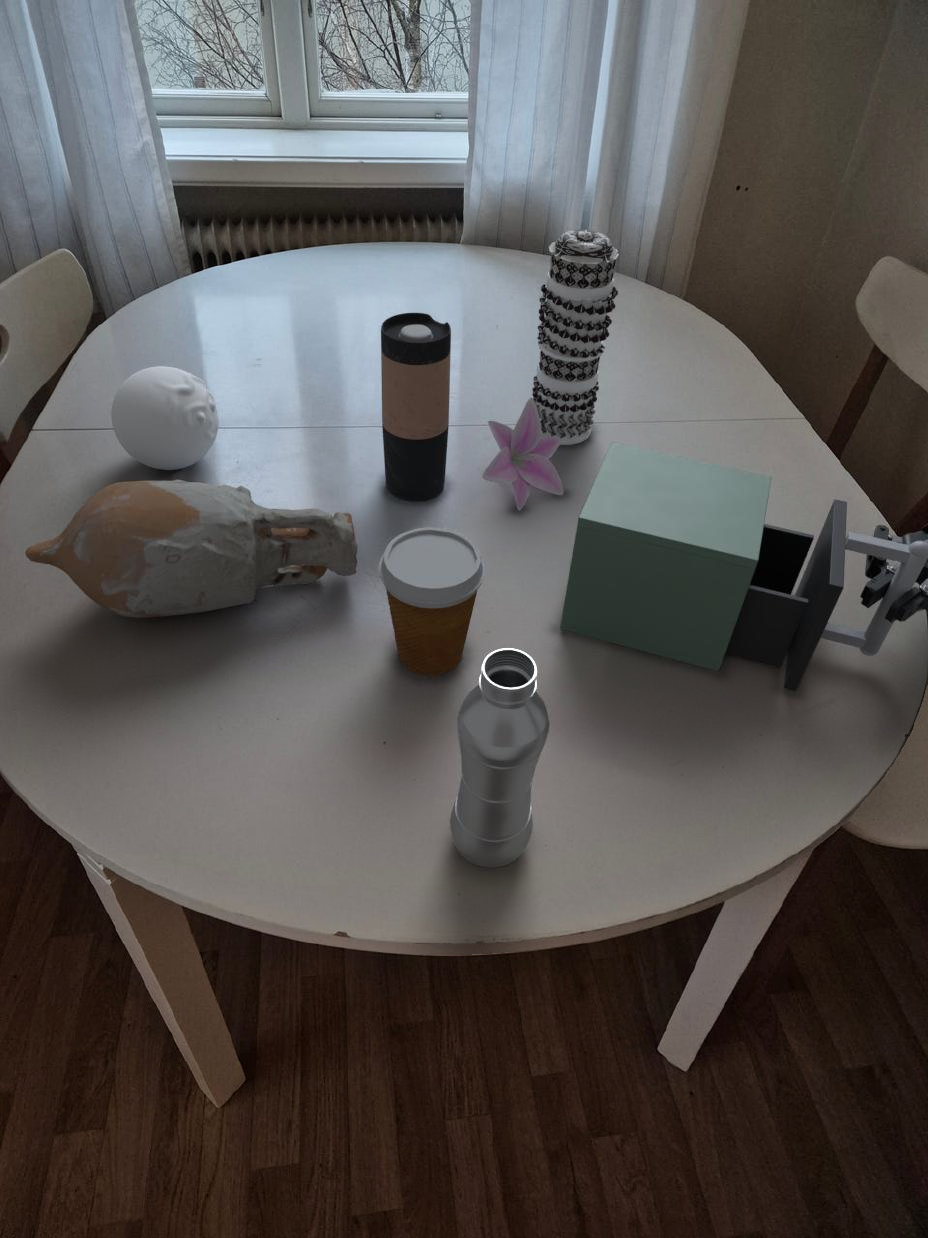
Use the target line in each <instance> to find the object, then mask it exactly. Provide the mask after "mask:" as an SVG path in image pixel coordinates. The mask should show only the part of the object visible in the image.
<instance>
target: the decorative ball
mask: <svg viewBox="0 0 928 1238" xmlns="http://www.w3.org/2000/svg"><path fill="white" fill-rule="evenodd" d="M110 417H111V418H110V419H111V424H112V425H111V426H112V428H113V432H114V434H115V437H116V438H117V441H118V442H119V444H120V446H121V447H122V448H123V449H124V451H125V452H126V453H127V454H128V455H129V456H131V458H133V459H134V460H136V461H137V462H139V463H141V464H142V465H145V466H147V467H149V468H153V469H157V470H163V471H174V470H180V469H185V468H187V467H190V466H192V465H194V464H196V463H197V462H199V461H200V460H201V459H203V458H204V457H205V456H206V455H207V454H208V452H209V451H210V450H211V449H212V447H213V445H214V443H215V441H216V438H217V435H218V430H219V424H220V423H219V421H220V420H219V414H218V409H217V405H216V402H215V399H214V396H213V395H212V393H211V392H210V391H209V390H208V387H207V385H206V383H205V382H204V380H203V379H201V378H200V377H198V376H195V375H194V374H193V373H190V372H189V371H186V370H183V369H181V368H179V367H178V368H177V367H173V366H166V365H165V366H164V365H159V366H150V367H146V368H143V369H140V370H138V371H136V372H134V373H133V374H131V375H129V376H128V377H127V378H126V379H125V380H124V381H123V382H122V383H121V385H120V386H119V387H118V389H117V390H116V393H115V395H114V397H113V399H112V404H111V413H110Z"/></svg>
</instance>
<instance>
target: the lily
mask: <svg viewBox="0 0 928 1238" xmlns="http://www.w3.org/2000/svg"><path fill="white" fill-rule="evenodd" d="M532 398H533V397H530V398H529V399H528V400H527V401H526V403H525V405H524V408H523V409H522V411H521V414H520V416H519V418H518V420H517V422H516V424H515V426H514V428H511V427H509V426H508V425H506V424H503V423H501V422H498V421H494V420H487V425H488V428H489V430H490V432H491V434H492V436H493V438H494V440H495V442H496V444H497V446H498V448H499V452H498V453H497V454H496V456H494V458H493V459H492V461H491V462H490V463H489V464H488V466H487V467H486V469H485V470H484V471H483V473H482V477H481V478H482V479H483V480H485V481H488V482H494V483H511V487H512V492H513V496H514V501H515V505H516V508H517V510H518V511H521V510H522V509H523V507H524V506H525V504H526V502H527V501H528V498H529V496H530V494H531V491H532V486H533V487H535V488H537V489H539V490H542V491H545V492H547V493H550V494H553V495H557V496H563V495H564V491H565V490H564V487H563V486H564V485H563V483H562V480H561V477H560V475H559V474H558V471H557V469H556V467H555V465H554V464H553V462H552V461H551V460H550V458H552V456H553V455H554V454H555V453H556V451H557V449H558V448H559V446H561V445H560V443H561V439H560V438H558V437H554V436H541V423H540V418H539V414H538V410H537V407H536V404H535V402H534V400H533V399H532Z"/></svg>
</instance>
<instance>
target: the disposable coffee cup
mask: <svg viewBox="0 0 928 1238" xmlns="http://www.w3.org/2000/svg"><path fill="white" fill-rule="evenodd" d="M486 571H487V569H486V563H485V561H484V560H483V557H482V556H481V552H480V550H479V547H478V546H477V545H476V544H475V542H474V541H473V540H471V539H470V538H469V537H467V536H466V535H464V534H463V533H460V532H458V531H456V530H452V529H449V528H443V527H435V526H434V527H432V526H430V527H419V528H415V529H412V530H408V531H405V532H403V533H401V534H398V535H397V536H396V537H394V538H393V539H392V540H391V541H389V543H388V544H387V545H386V547H385V550H384V553H383V554H382V556H381V557H380V560H379V562H378V575H379V579H380V580H381V582H382V584H383V585H384V588H385V590H386V596H387V601H388V606H389V611H390V612H389V613H390V616H391V617H390V619H391V624H392V629H393V634H394V639H395V645H396V648H397V655H398V659H399V661H400V663H401V664H402V665H403V666H404V667H405V668H406V669H408V670H409V671H411V672H413V673H415V674H419V675H422V676H423V675H424V676H438V675H443V674H445V673H449V672H450V671H452V670H453V669H454V668H456V667H457V666H458V665H459V664H460V663H461V660H462V658H463V653H464V648H465V644H466V641H467V637H468V633H469V632H468V631H469V629H470V624H471V619H472V615H473V611H474V606H475V603H476V598H477V595H478V594H477V593H478V590H479V589H480V587H481V586H482V584H483V581H484V580H485V577H486Z"/></svg>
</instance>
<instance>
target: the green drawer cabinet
mask: <svg viewBox="0 0 928 1238" xmlns="http://www.w3.org/2000/svg"><path fill="white" fill-rule="evenodd" d="M771 484H772V476H770V475H765V474H761V473H755V472H751V471H747V470H743V469H738V468H733V467H729V466H725V465H719V464H715V463H711V462H706V461H701V460H697V459H692V458H688V457H682V456H678V455H674V454H669V453H665V452H660V451H656V450H652V449H647V448H641V447H637V446H634V445H629V444H623V443H619V442H614V441H611V442H610V444H609V447H608V449H607V451H606V454H605V456H604V458H603V460H602V462H601V465H600V468H599V469H598V472H597V474H596V476H595V479H594V480H593V483H592V486H591V488H590V490H589V493H588V495H587V498H586V500H585V502H584V505H583V507H582V509H581V511H580V514H579V516H578V519H577V526H576V532H575V535H574V536H575V538H574V543H573V549H572V553H571V554H572V555H571V561H570V566H569V572H568V579H567V585H566V591H565V596H564V602H563V609H562V614H561V620H560V621H561V622H560V628H559V629H560V630H563V631H566V632H570V633H573V634H578V635H582V636H584V637H589V638H593V639H596V640H599V641H604V642H606V643H607V642H608V643H611V644H615V645H619V646H623V647H626V648H628V649H629V648H630V649H633V650H637V651H641V652H644V653H648V654H652V655H655V656H659V657H662V658H667V659H671V660H674V661H678V662H681V663H685V664H689V665H693V666H696V667H700V668H703V669H707V670H712V671H715V672H719V671H720V668H721V665H722V664H723V660H724V658H725V655H726V654H725V652H726V649H727V647H728V644H729V641H730V638H731V635H732V633H733V630H734V627H735V624H736V621H737V619H738V616H739V613H740V610H741V608H742V605H743V602H744V599H745V596H746V594H747V591H748V588H749V585H750V582H751V580H752V577H753V574H754V571H755V568H756V566H757V563H758V559H759V553H760V547H761V540H762V534H763V528H764V524H765V521H766V515H767V509H768V502H769V498H770V497H769V496H770V490H771Z"/></svg>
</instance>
